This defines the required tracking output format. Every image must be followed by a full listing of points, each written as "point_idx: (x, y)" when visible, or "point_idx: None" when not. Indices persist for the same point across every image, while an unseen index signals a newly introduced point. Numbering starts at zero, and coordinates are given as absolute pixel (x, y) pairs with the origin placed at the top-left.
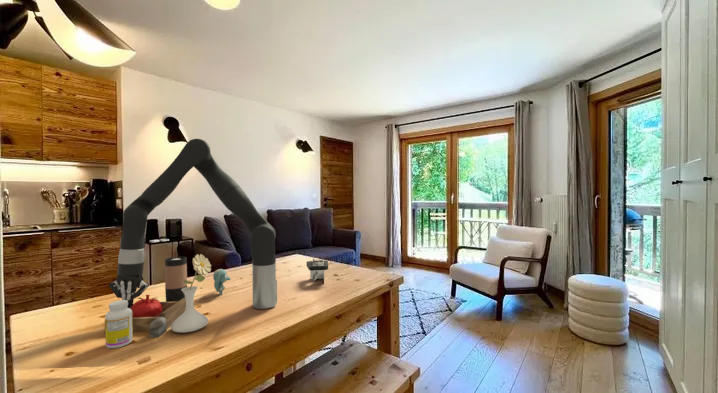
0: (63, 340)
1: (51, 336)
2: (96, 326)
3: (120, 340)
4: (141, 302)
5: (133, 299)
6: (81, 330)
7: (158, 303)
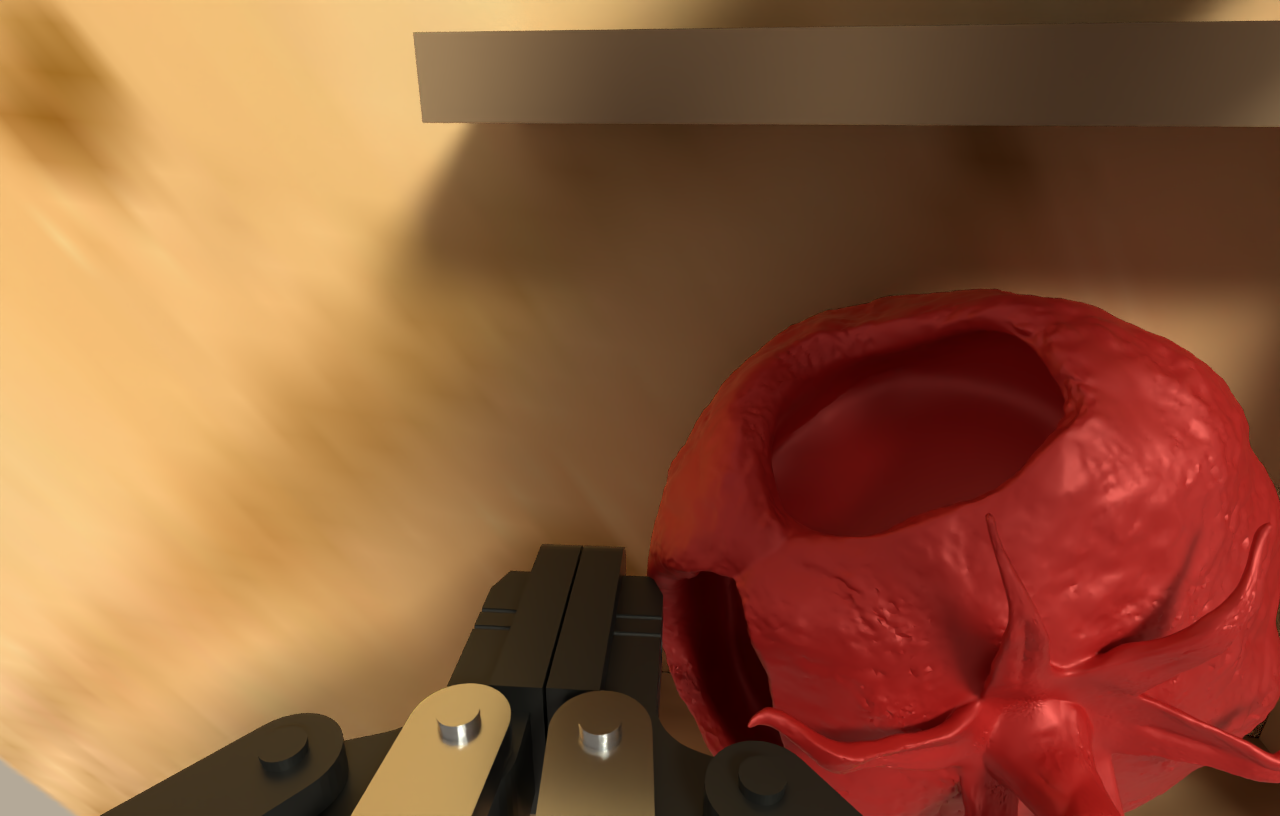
0: None
1: (81, 666)
2: (294, 498)
3: None
4: (933, 810)
5: (653, 703)
6: (228, 581)
7: (1261, 591)
